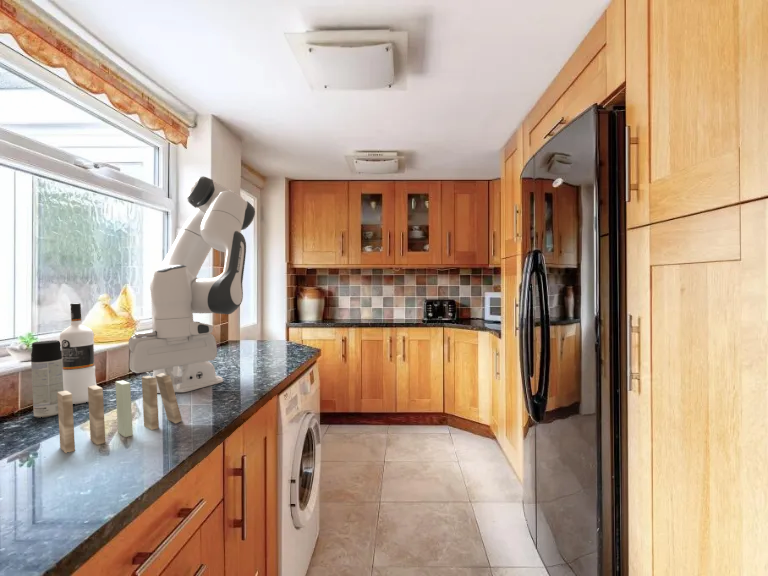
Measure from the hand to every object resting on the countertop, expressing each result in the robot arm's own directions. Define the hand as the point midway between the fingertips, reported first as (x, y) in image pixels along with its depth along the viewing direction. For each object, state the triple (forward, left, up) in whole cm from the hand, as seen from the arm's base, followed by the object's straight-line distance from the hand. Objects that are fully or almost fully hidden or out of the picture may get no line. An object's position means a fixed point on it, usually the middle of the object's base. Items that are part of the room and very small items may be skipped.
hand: (176, 383), depth 106 cm
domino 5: (+1, 0, -9) cm, 9 cm away
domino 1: (+23, 0, -9) cm, 25 cm away
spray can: (+20, -36, -9) cm, 42 cm away
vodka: (+11, -45, -9) cm, 47 cm away
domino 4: (+6, 0, -9) cm, 11 cm away
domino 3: (+12, 0, -9) cm, 15 cm away
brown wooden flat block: (+17, 0, -9) cm, 20 cm away
